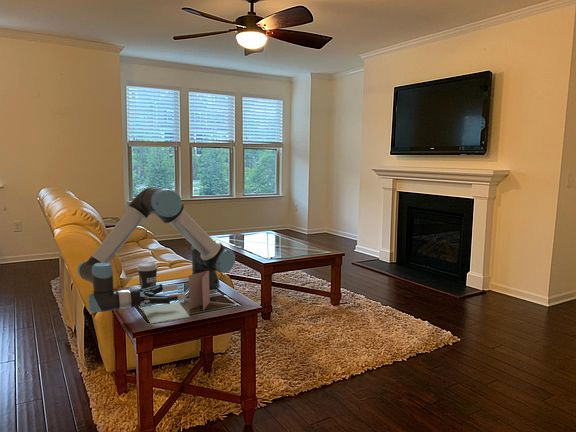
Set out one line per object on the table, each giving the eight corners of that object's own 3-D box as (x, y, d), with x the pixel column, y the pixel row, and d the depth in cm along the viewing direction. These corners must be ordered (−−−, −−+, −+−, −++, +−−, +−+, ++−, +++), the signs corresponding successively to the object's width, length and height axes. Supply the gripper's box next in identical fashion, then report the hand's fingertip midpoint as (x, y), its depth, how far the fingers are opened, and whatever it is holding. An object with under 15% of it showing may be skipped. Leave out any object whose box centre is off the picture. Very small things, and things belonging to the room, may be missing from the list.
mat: (142, 308, 196) (142, 307, 196) (178, 303, 203) (178, 302, 203) (150, 324, 178) (150, 323, 178) (189, 317, 186) (189, 316, 185)
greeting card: (208, 301, 205) (207, 270, 203) (219, 305, 200) (218, 272, 198) (188, 308, 196) (187, 275, 194) (199, 312, 192) (198, 278, 189)
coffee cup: (142, 298, 209) (141, 267, 207) (135, 293, 216) (133, 263, 214) (162, 294, 215) (160, 264, 213) (154, 290, 222) (152, 260, 220)
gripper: (126, 298, 195) (174, 291, 204) (134, 317, 173) (188, 308, 182) (125, 281, 194) (174, 275, 203) (133, 298, 172) (188, 290, 181)
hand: (181, 291), depth 193 cm, fingers open, 13 cm apart
